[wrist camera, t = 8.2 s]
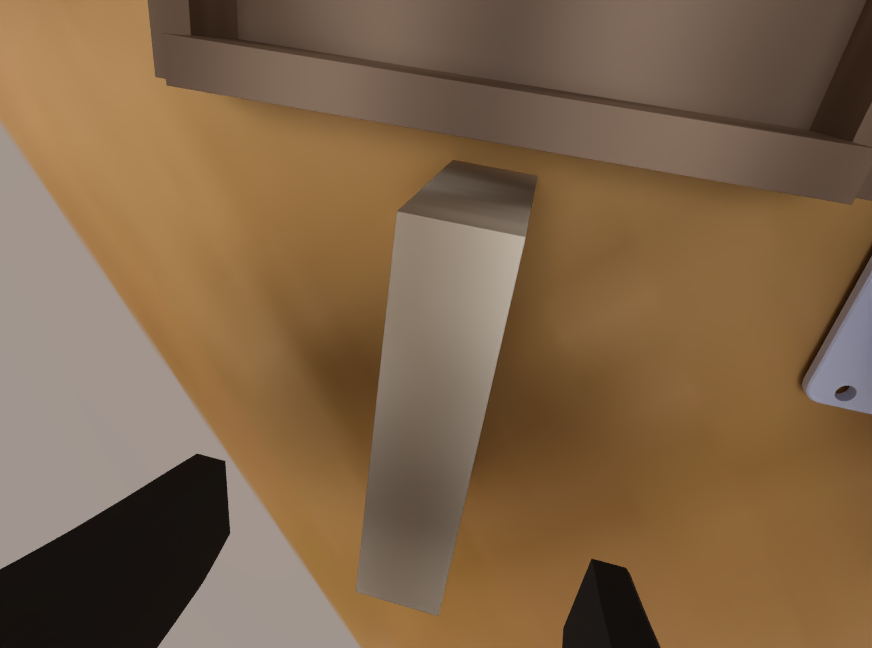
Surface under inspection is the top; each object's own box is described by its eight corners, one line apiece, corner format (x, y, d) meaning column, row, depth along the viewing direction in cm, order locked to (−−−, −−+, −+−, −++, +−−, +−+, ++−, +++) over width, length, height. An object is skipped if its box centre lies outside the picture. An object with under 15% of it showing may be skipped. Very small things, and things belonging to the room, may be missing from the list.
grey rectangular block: (537, 174, 15) (525, 236, 9) (470, 469, 20) (438, 616, 15) (453, 159, 15) (397, 211, 10) (408, 453, 20) (355, 592, 15)
